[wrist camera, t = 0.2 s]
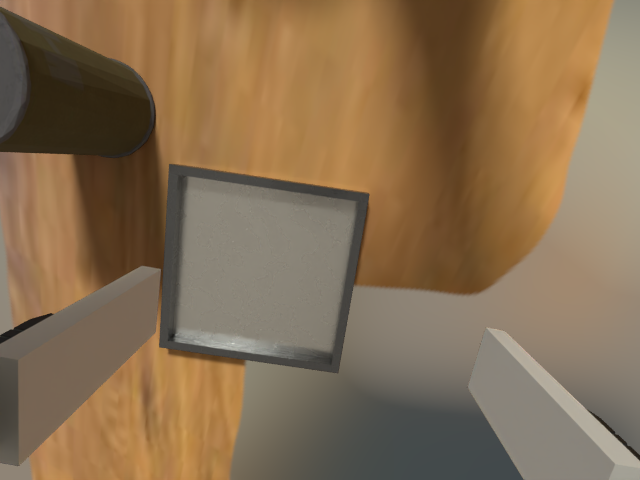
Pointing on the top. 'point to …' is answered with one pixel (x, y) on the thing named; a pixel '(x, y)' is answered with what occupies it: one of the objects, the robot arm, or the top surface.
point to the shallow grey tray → (259, 267)
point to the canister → (67, 96)
